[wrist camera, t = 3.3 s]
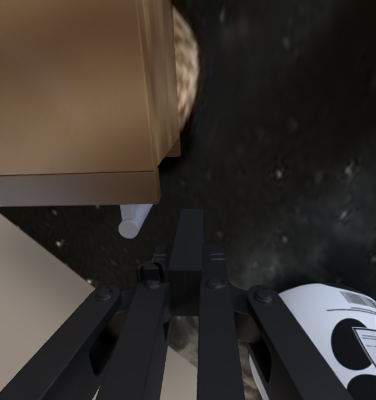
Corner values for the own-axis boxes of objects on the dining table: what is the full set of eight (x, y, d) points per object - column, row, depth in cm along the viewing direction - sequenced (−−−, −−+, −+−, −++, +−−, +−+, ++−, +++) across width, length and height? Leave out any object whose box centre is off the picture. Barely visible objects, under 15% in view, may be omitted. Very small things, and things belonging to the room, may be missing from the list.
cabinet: (-54, 6, 21) (-412, -130, 9) (171, -14, 19) (115, -213, 7) (0, 160, 26) (-176, 210, 14) (180, 154, 24) (157, 204, 12)
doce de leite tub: (262, 372, 36) (311, 598, 20) (226, 290, 31) (252, 510, 14) (383, 350, 33) (566, 600, 16) (368, 252, 27) (624, 484, 11)
